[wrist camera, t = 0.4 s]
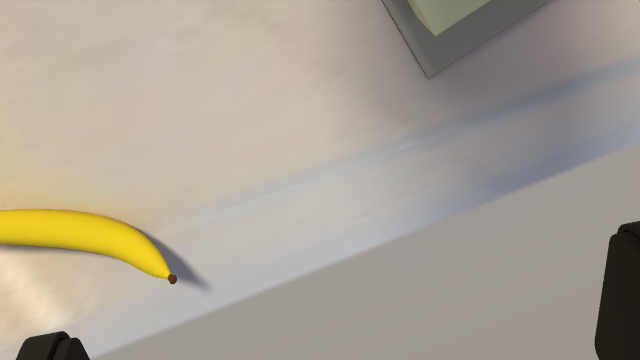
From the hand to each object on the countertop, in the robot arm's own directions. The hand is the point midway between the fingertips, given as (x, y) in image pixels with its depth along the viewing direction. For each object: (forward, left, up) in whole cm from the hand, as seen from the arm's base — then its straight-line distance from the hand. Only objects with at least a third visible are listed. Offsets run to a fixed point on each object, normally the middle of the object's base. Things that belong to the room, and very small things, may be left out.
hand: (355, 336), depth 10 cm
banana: (+7, -26, -36) cm, 45 cm away
